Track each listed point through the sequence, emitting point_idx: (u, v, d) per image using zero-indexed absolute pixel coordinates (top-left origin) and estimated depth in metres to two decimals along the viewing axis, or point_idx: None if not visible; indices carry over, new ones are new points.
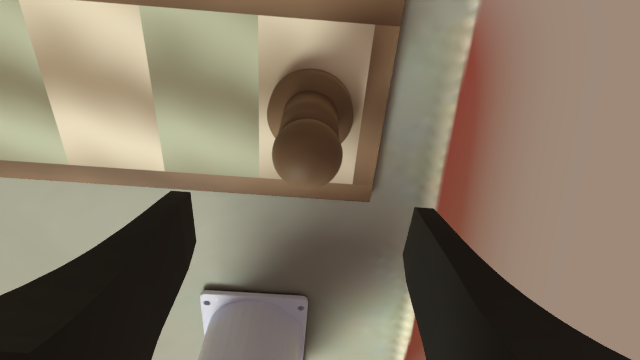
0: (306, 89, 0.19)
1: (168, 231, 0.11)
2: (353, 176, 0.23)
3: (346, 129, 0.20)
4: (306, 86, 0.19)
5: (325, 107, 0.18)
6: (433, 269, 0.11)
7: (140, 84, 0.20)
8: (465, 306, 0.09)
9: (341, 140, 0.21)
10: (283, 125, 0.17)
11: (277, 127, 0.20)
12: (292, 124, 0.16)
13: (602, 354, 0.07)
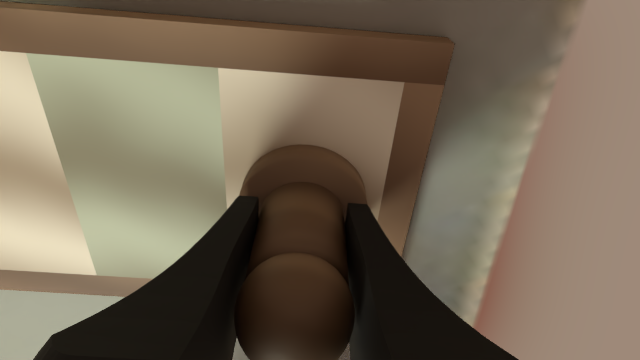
0: (296, 179, 0.12)
1: (246, 236, 0.11)
2: None
3: None
4: (296, 175, 0.12)
5: (326, 216, 0.11)
6: (355, 264, 0.11)
7: (45, 165, 0.13)
8: (369, 300, 0.09)
9: None
10: (255, 258, 0.10)
11: None
12: (267, 272, 0.09)
13: (480, 347, 0.07)
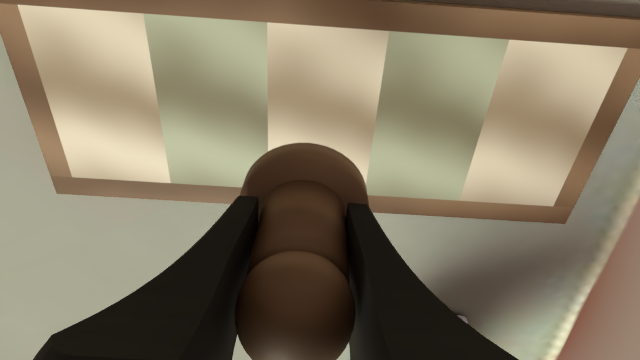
0: (297, 178, 0.12)
1: (246, 236, 0.11)
2: (556, 198, 0.23)
3: None
4: (297, 174, 0.12)
5: (326, 214, 0.11)
6: (355, 264, 0.11)
7: (366, 109, 0.20)
8: (369, 300, 0.09)
9: None
10: (256, 256, 0.10)
11: None
12: (268, 270, 0.09)
13: (480, 347, 0.07)
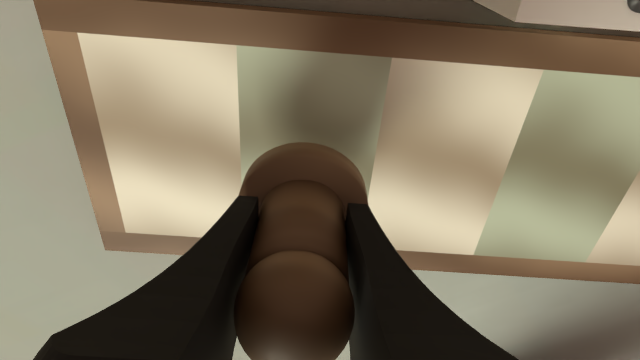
0: (296, 177, 0.12)
1: (246, 236, 0.11)
2: None
3: None
4: (296, 173, 0.12)
5: (326, 214, 0.11)
6: (355, 264, 0.11)
7: (495, 160, 0.16)
8: (369, 300, 0.09)
9: None
10: (255, 256, 0.10)
11: None
12: (267, 270, 0.09)
13: (480, 347, 0.07)
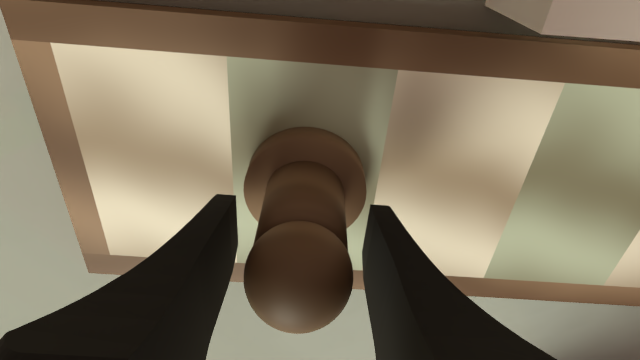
0: (299, 159, 0.13)
1: (220, 234, 0.11)
2: None
3: (356, 210, 0.15)
4: (299, 155, 0.13)
5: (327, 191, 0.12)
6: (381, 266, 0.11)
7: (509, 179, 0.15)
8: (401, 302, 0.09)
9: (348, 223, 0.15)
10: (262, 227, 0.11)
11: (258, 207, 0.15)
12: (274, 236, 0.10)
13: (521, 349, 0.07)
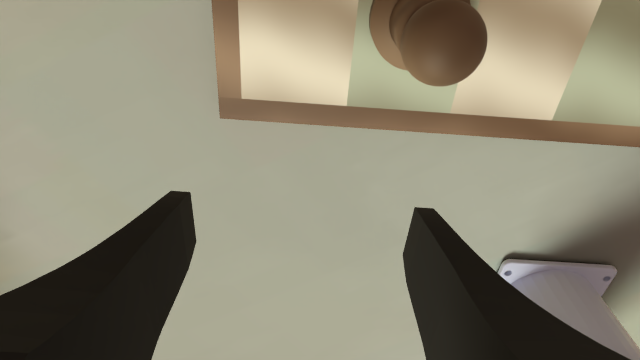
0: None
1: (168, 231, 0.11)
2: None
3: None
4: None
5: None
6: (433, 269, 0.11)
7: (582, 16, 0.18)
8: (465, 306, 0.09)
9: None
10: (411, 12, 0.15)
11: (381, 35, 0.18)
12: (431, 2, 0.14)
13: (602, 354, 0.07)
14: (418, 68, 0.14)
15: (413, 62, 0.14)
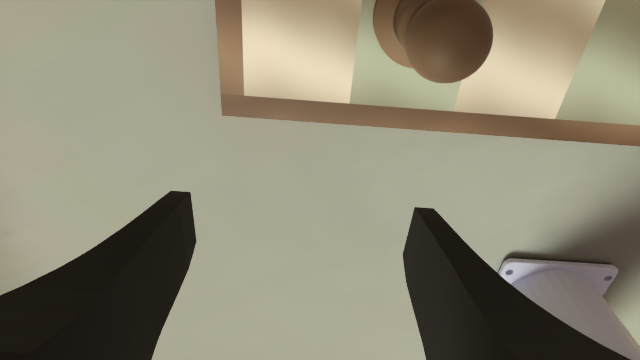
0: None
1: (168, 231, 0.11)
2: None
3: None
4: None
5: None
6: (433, 269, 0.11)
7: (587, 14, 0.18)
8: (465, 306, 0.09)
9: None
10: (416, 9, 0.15)
11: (385, 32, 0.18)
12: None
13: (602, 354, 0.07)
14: (423, 65, 0.14)
15: (418, 59, 0.14)
